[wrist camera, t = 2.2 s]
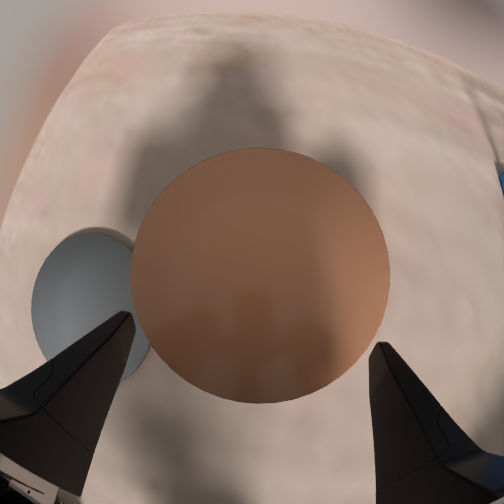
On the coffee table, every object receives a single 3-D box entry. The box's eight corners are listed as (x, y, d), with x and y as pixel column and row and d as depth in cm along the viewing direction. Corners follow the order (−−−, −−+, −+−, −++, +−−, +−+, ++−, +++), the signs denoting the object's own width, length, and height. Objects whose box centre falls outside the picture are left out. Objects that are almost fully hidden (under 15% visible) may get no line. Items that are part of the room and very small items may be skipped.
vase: (273, 366, 18) (303, 446, 5) (195, 317, 19) (89, 303, 6) (321, 287, 19) (422, 226, 7) (244, 241, 20) (224, 115, 7)
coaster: (109, 416, 17) (106, 418, 16) (19, 322, 19) (15, 322, 18) (187, 289, 19) (185, 288, 19) (80, 210, 21) (76, 207, 20)
